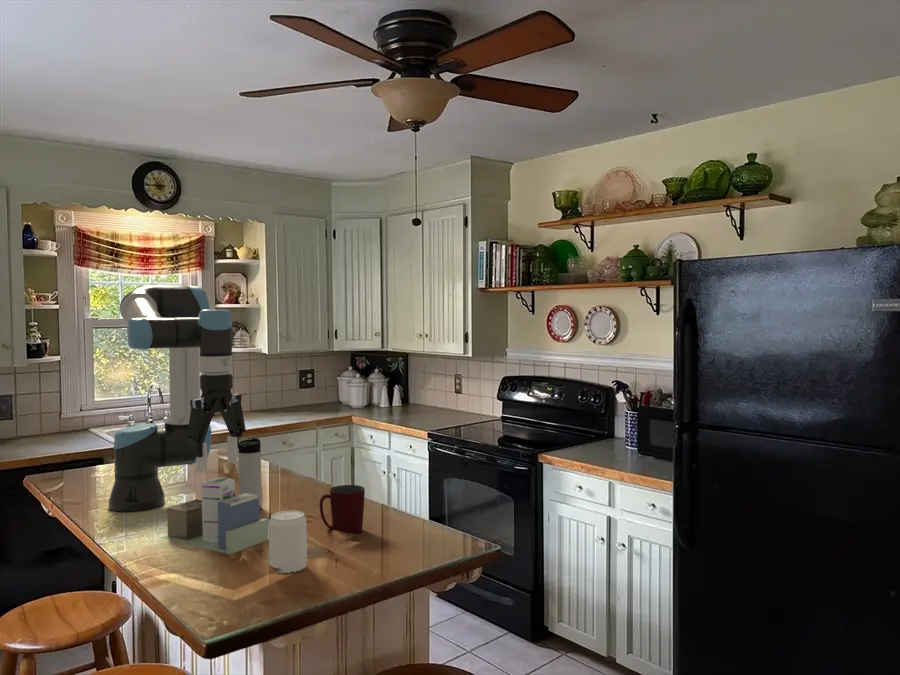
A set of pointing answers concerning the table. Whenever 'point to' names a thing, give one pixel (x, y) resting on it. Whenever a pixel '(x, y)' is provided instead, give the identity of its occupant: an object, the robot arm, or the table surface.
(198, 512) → the bookend
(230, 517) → the book block
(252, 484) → the travel mug
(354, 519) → the mug
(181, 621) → the table surface
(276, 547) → the beverage can
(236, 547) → the pale green slab
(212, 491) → the syrup box
